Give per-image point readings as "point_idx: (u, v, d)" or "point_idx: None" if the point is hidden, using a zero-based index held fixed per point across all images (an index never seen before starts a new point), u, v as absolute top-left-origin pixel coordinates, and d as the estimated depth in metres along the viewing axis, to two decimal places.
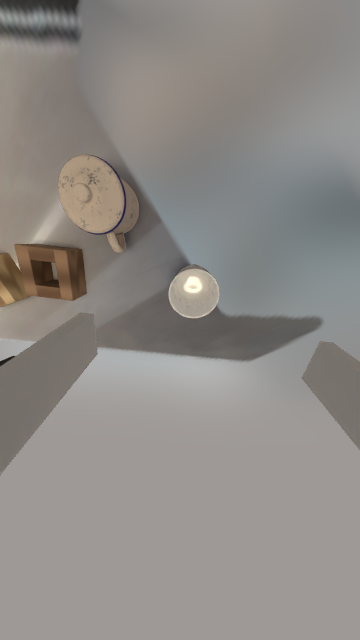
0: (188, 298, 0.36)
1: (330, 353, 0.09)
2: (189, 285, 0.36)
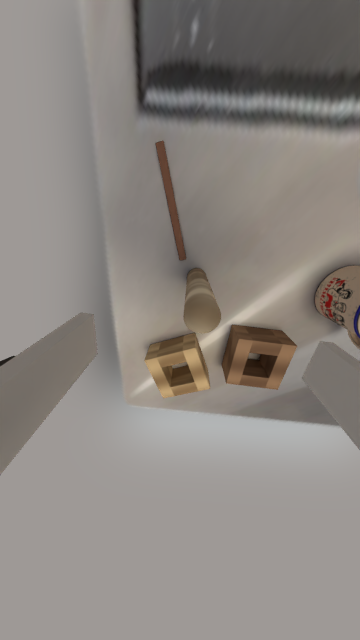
0: None
1: (330, 353, 0.09)
2: None
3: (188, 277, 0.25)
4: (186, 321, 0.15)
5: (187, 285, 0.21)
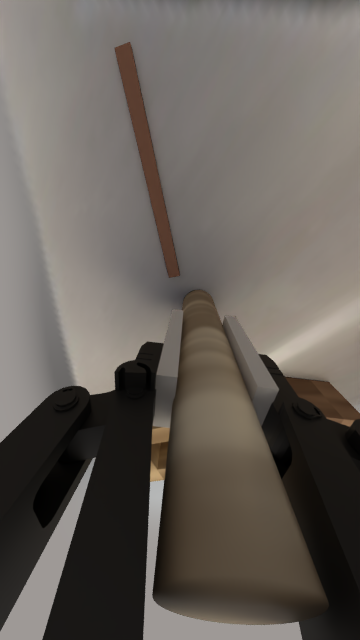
0: None
1: (226, 323, 0.11)
2: None
3: (184, 311, 0.14)
4: (166, 604, 0.03)
5: None
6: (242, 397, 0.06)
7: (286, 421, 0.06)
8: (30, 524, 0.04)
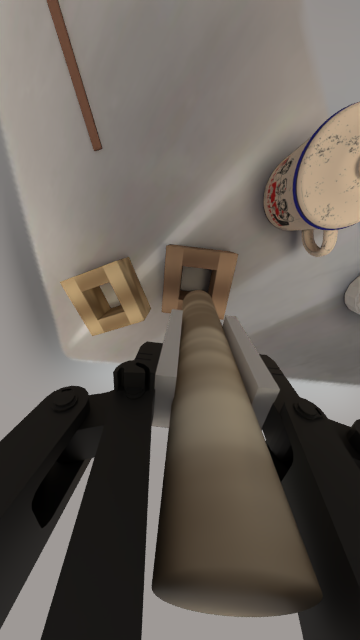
0: None
1: (227, 323, 0.11)
2: None
3: (183, 311, 0.14)
4: (165, 596, 0.04)
5: (180, 340, 0.10)
6: (240, 396, 0.06)
7: (288, 422, 0.05)
8: (28, 524, 0.04)
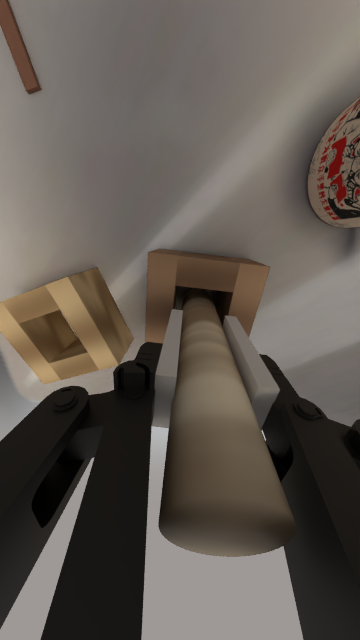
0: None
1: (227, 323, 0.11)
2: None
3: (184, 308, 0.15)
4: (169, 534, 0.04)
5: (181, 333, 0.11)
6: (235, 379, 0.07)
7: (288, 422, 0.05)
8: (28, 525, 0.04)
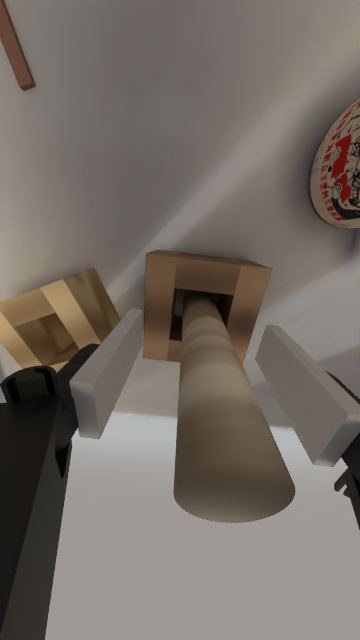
0: None
1: (272, 334, 0.11)
2: None
3: (185, 305, 0.15)
4: (182, 501, 0.05)
5: (184, 329, 0.11)
6: (237, 368, 0.07)
7: None
8: None
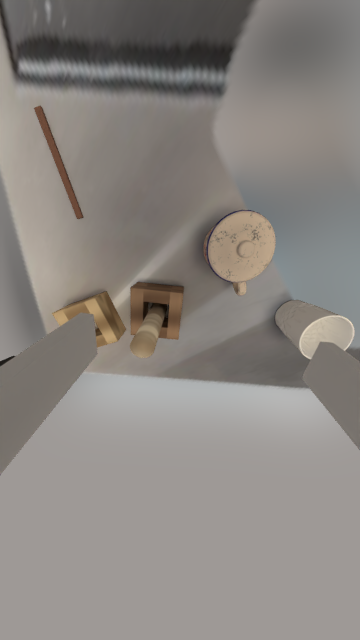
0: None
1: (330, 353, 0.09)
2: None
3: (150, 309, 0.33)
4: (132, 350, 0.22)
5: None
6: (153, 327, 0.25)
7: None
8: None
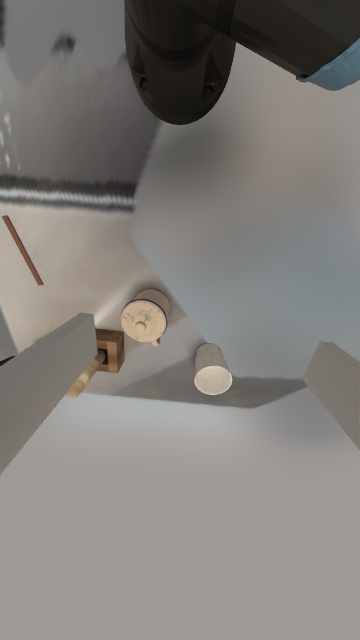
0: (205, 368, 0.46)
1: (330, 353, 0.09)
2: None
3: None
4: None
5: None
6: (84, 373, 0.36)
7: None
8: None
